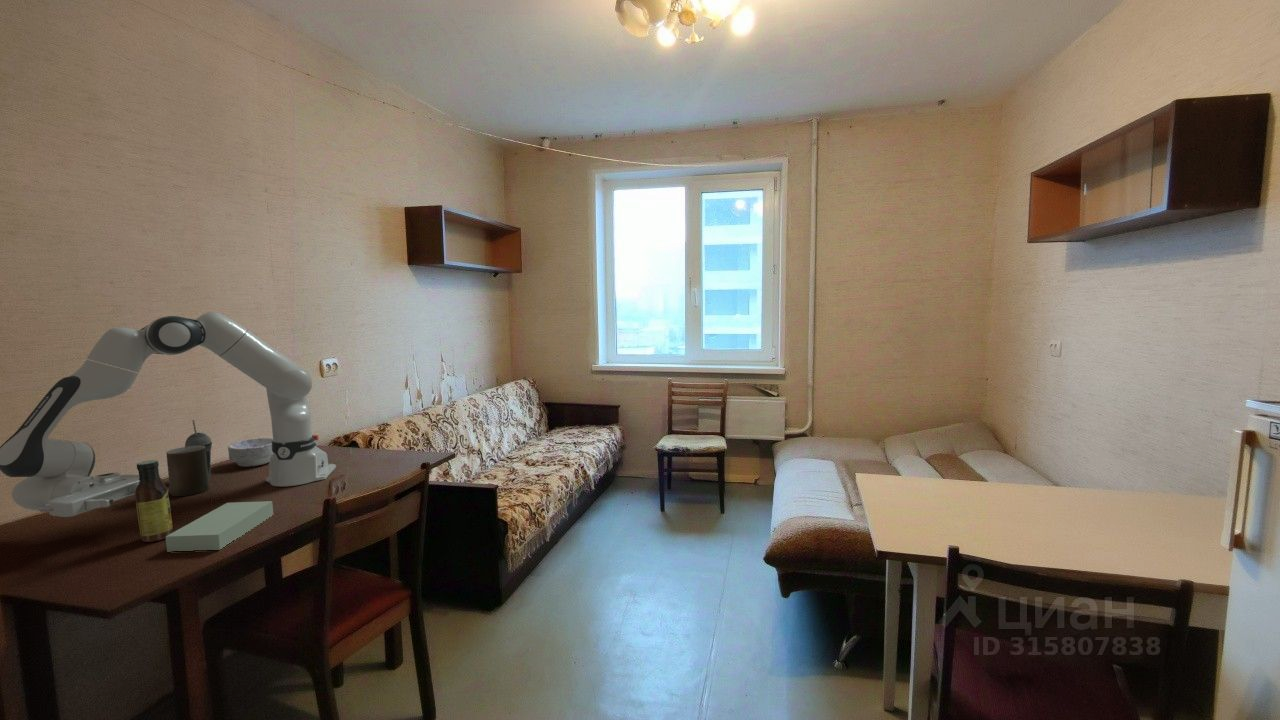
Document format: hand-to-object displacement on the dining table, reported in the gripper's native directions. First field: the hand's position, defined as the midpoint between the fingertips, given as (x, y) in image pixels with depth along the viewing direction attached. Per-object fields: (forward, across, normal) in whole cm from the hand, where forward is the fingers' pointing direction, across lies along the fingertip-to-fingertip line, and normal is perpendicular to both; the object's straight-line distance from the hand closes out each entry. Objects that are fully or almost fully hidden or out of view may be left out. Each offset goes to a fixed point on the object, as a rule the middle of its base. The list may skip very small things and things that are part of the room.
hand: (130, 495), depth 139 cm
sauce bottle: (+6, 0, +11) cm, 13 cm away
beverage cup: (-25, +45, +11) cm, 53 cm away
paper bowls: (-20, +62, +11) cm, 66 cm away
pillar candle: (-17, +32, +11) cm, 38 cm away
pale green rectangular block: (+21, +4, +11) cm, 24 cm away
